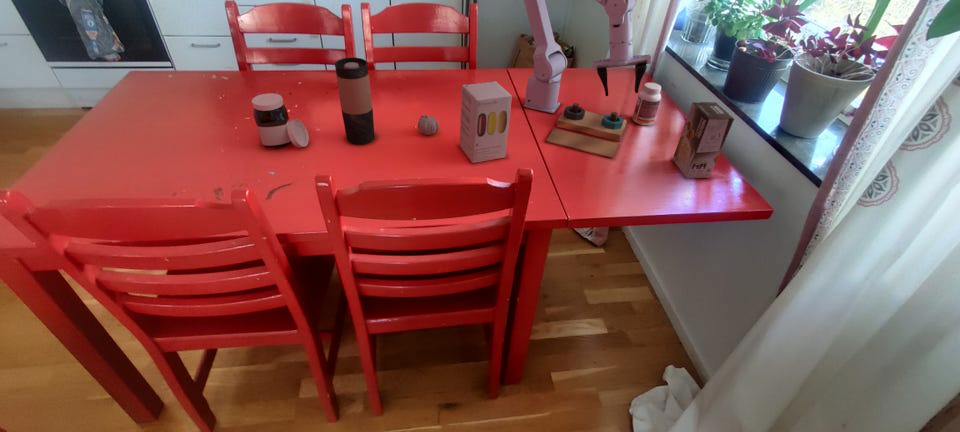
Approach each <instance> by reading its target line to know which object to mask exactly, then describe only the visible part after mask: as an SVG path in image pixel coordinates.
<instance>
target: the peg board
mask: <svg viewBox="0 0 960 432" xmlns="http://www.w3.org/2000/svg"><path fill="white" fill-rule="evenodd" d="M571 106H572V111H571V112H574V113H578V109H579V107H580V103H576V102H573V103H572V105H571ZM610 114H611V116H610V120H609V121H613V122H616V119H617V115H618V116H619V113H618V112H617V111H611V112H610ZM604 115H605V114H601V113H597V112H592V111H588V110H585V115H584V118H583V119H582V120H576V121H575V120H571V119H567V118H566V117H565V116H564V110H563V111H562V113H561V114H560V115H559V117H558V118H557V120H556V124H555V126H556V127H557V128H561V129H566V130H568V131H569V130H570V131H574V132H578V133H582V134H587V135H591V136H595V137H599V138H603V139H607V140H612V141H616V142H620V141H621V138H622V136H623V134H624V132H625V128H626V126H627V123H628V120H627V119H624V121H623V125H622V127H621V129H615V130H613V129H609V128H605V127H604V126H603V125H602V124H601V122H602V118H603V116H604Z"/></svg>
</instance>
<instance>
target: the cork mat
mask: <svg viewBox="0 0 960 432" xmlns="http://www.w3.org/2000/svg"><path fill="white" fill-rule="evenodd" d="M545 142H546V143H549V144H553V145H557V146H560V147H563V148H564V147H565V148H568V149H572V150H577V151H581V152H583V153H584V152H585V153H588V154H592V155H595V156H596V155H597V156H601V157H603V158H608V159H613V158H614V155H615V154H616V153H615V152H616V151H617V148H618V145H619V143H617V142H613V141H609V140H606V139H605V140H604V139H600V138H597V137H593V136H587V135H584V134H580V133H577V132H572V131H569V130H564V129H560V128H553V129H552V131H550V134H549V136H548V137H547V138H546V140H545Z"/></svg>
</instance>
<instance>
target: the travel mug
mask: <svg viewBox="0 0 960 432" xmlns="http://www.w3.org/2000/svg"><path fill="white" fill-rule="evenodd" d="M334 68H335V75H336V83H337V91H338V96H339V97H338V98H339V103H340V110H341V115H342V121H343V125H344V131H345V136H346V141H347V142H348V143H349V144H351V145H356V146H363V145H368V144H369V143H372V142H373V141H374V140H375V123H374V122H375V121H374V109H373V100H372V92H371V82H370V74H369V73H370V72H369V66H368V62H367V60H366V59H364V58H361V57H345V58H341V59H338V60H336V61H335V62H334Z"/></svg>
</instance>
